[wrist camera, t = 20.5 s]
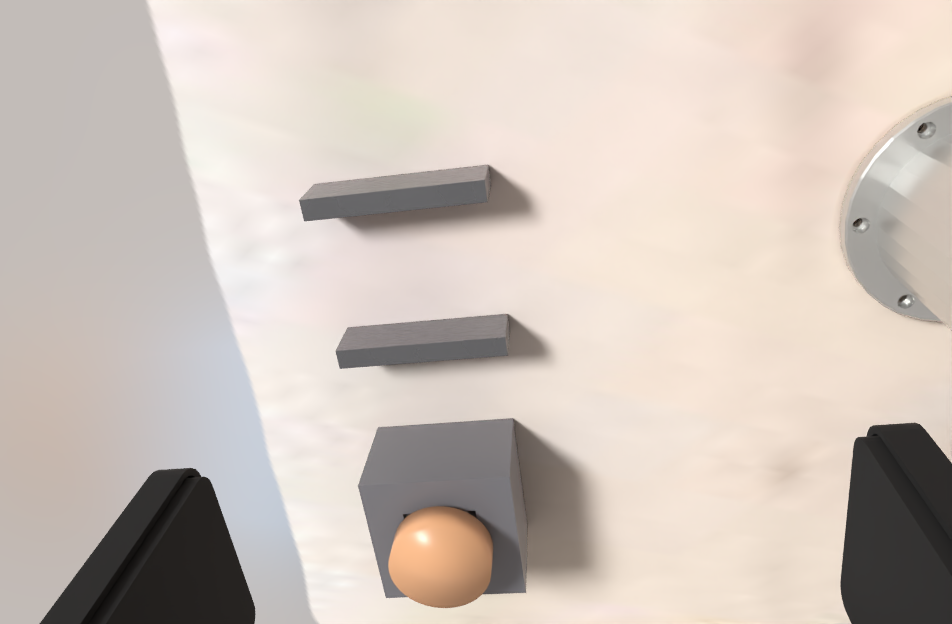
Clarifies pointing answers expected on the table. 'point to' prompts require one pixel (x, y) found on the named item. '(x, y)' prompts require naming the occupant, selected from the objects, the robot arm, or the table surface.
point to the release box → (449, 489)
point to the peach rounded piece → (441, 557)
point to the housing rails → (424, 336)
